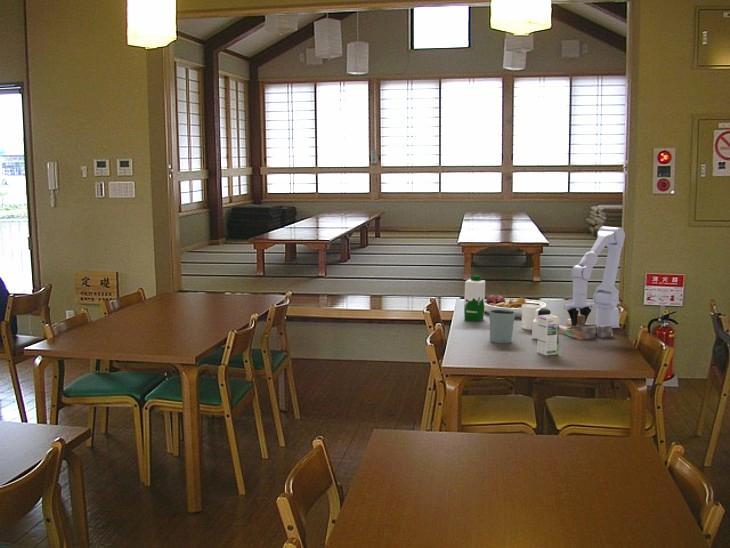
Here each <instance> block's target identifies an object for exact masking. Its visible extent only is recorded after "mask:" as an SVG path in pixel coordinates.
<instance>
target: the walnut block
mask: <svg viewBox="0 0 730 548" xmlns="http://www.w3.org/2000/svg"><path fill="white" fill-rule="evenodd" d="M581 324H585V315H581V314H580V313H578V317H577V325H581ZM570 327H575V326H573V325H572V323H571V325H570ZM574 330H576V329H574Z"/></svg>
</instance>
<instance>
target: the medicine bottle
mask: <svg viewBox="0 0 730 548" xmlns="http://www.w3.org/2000/svg"><path fill="white" fill-rule="evenodd" d="M550 314H551V310H550V309H548V308H546V309H544V308H539V309H536V310H535V320H534V321H533V325H532V331H531V334H532V335H531V339H532V340H533V339H534V340H538V316H539V315H550Z"/></svg>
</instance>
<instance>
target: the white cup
mask: <svg viewBox="0 0 730 548" xmlns="http://www.w3.org/2000/svg"><path fill="white" fill-rule="evenodd" d="M539 308H540V306H539V305H534V304H524V305H522V318H521V325H522V326H521V328H522V329H523V330H530V331H531V330H532V325H533V321H534V320H535V310H536V309H539Z"/></svg>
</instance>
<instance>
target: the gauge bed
mask: <svg viewBox="0 0 730 548" xmlns="http://www.w3.org/2000/svg"><path fill="white" fill-rule="evenodd" d="M585 324H588V323H587V322H586V323H585ZM566 325H568V326H571V318H567V319H566ZM568 326H563V325H560V324H559V334H562V335H565V336H569V337H571V338H575V339H577V340H589V339H590V340H591V339H596V336H597V338H602V339H603V338H610V337H613V332H614V330H612V329H613V328H612V326H611V325H599V326H597V333H596V334H597V335H596V334H595V330H596V327H593V326H587V327H582V330H581V331H578V330H575V329H567V327H568Z"/></svg>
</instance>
